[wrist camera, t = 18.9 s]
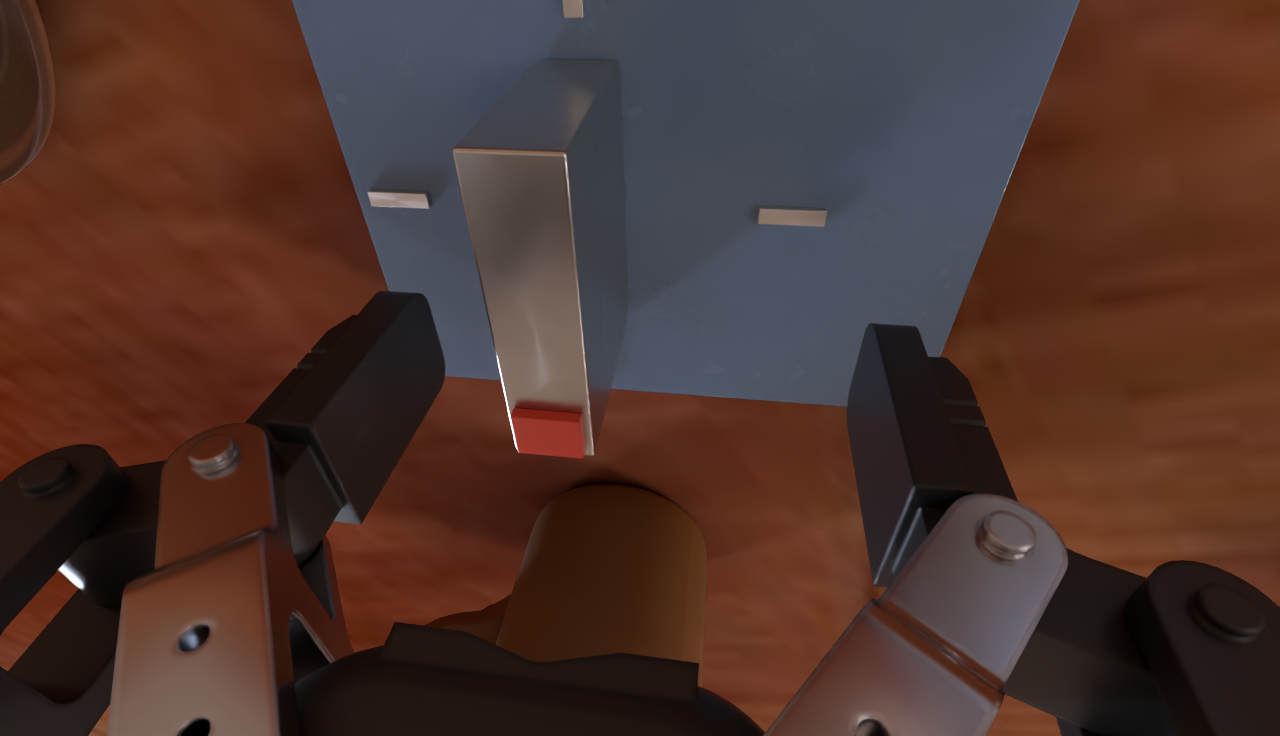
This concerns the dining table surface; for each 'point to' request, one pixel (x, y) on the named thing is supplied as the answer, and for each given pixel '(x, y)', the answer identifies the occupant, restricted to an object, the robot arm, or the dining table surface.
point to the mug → (603, 582)
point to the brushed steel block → (551, 247)
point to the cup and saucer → (23, 86)
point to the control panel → (711, 165)
